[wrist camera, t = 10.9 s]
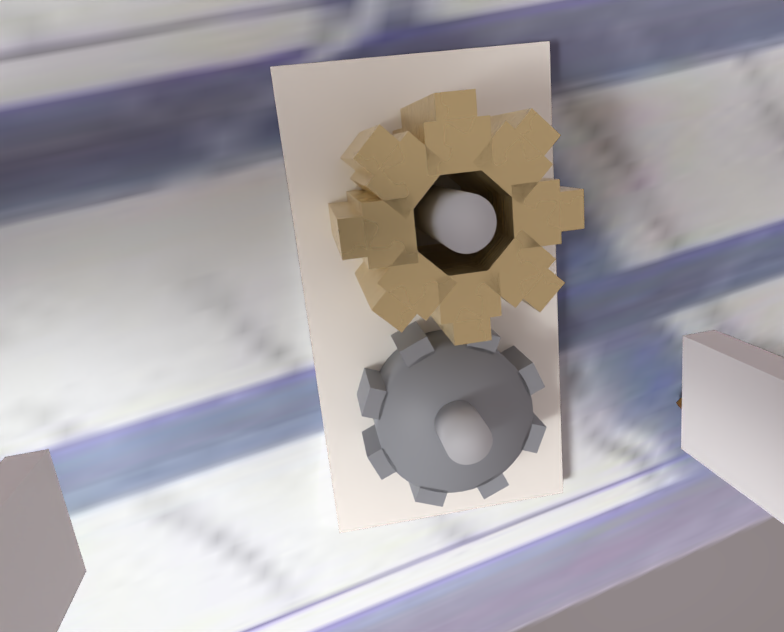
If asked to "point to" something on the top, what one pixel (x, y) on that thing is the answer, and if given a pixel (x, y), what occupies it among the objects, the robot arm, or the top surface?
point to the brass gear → (474, 175)
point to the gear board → (420, 338)
